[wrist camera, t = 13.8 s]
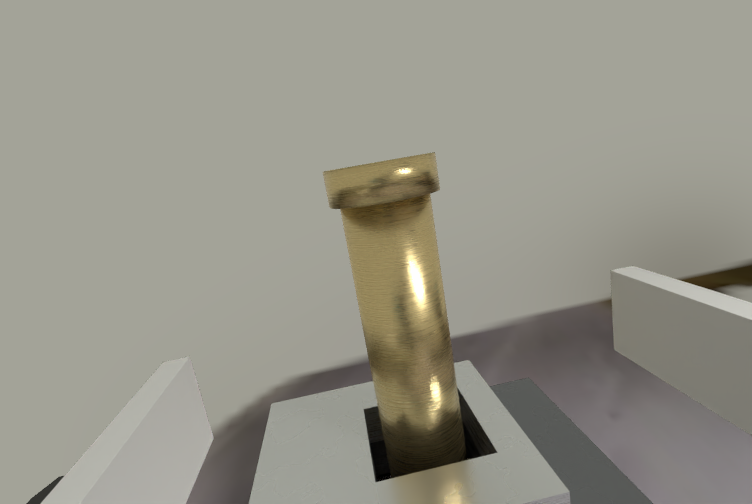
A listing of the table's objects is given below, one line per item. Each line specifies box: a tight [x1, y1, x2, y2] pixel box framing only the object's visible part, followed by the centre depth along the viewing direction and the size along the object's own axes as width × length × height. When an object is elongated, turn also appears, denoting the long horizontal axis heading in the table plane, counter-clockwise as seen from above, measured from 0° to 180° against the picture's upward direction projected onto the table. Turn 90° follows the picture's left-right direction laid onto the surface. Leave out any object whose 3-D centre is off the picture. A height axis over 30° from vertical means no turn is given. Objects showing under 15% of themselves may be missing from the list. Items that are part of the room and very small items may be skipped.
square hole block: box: [249, 360, 653, 504], centre depth 19 cm, size 15×10×4 cm, turn 98°
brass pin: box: [323, 152, 467, 478], centre depth 18 cm, size 4×4×16 cm
